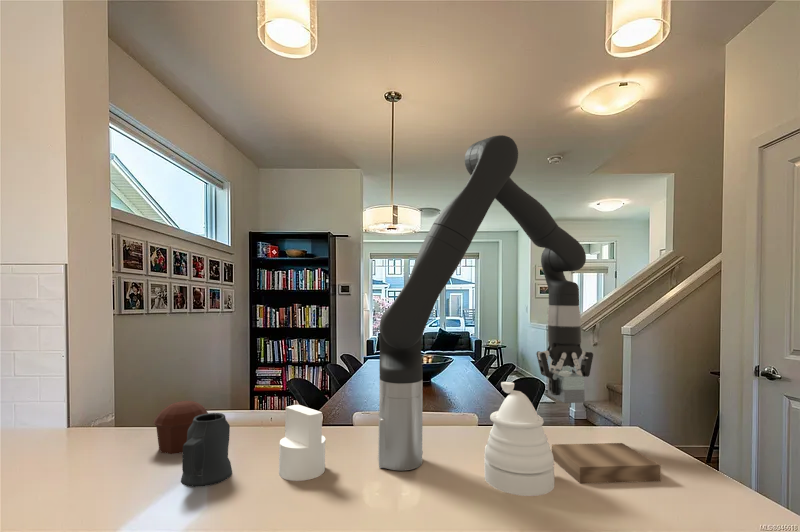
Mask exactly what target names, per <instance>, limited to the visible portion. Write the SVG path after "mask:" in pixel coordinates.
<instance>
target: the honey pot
mask: <svg viewBox="0 0 800 532" xmlns="http://www.w3.org/2000/svg"><path fill="white" fill-rule="evenodd" d="M500 386H501V388H502V391H503V392H504V393H506V394H508V395H507V396H506V397H505V398H504V400H503V401H502V403H501V405H500V407H499V408H498V410H496V411H494V412H492V413H491V414H490V416H489V419H490V421H491V422H493V425H492V428H491V429H490V430H489V436H488V438H487V442H486V445H485V446H484V456H483V457H484V460H483V462H484V463H483V464H484V465H483V466H484V480H485V482H486V484H487V483H488V485H489V486H490V487H492V488H494V489H496V490H497V491H501V492H503V493H505V494H510V495H514V496H520V497H521V496H522V497H524V496H525V497H535V496H536V497H537V496H544V495H546V494H550V492H552V491H553V490H554V488H555V466H554V465H555V464H554V462H555V461H554V458H553V454H552V449H551V446H550V443H549V441H548V435H547V434H546V433H545V430H544V427H543V424H544V418H543V417H541V416H540V415H539V414H538V413H537V411H536V408H535V407H534V404H533V403H532V402H531V400H530V399H529V397H528V396H527V395H526V394H525V393H523V392H522V391H520V390H514V388H515V383H514V382H512V381H501V382H500Z"/></svg>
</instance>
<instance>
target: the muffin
mask: <svg viewBox="0 0 800 532" xmlns="http://www.w3.org/2000/svg"><path fill="white" fill-rule="evenodd" d="M207 413H208V411H207V410H206V408H205V406H204V405H203V404H201V403H199V402H197V401H193V400H182V401H177V402H174V403H171V404H169V405H168V406H166V407H165V408H163V409H162V410H160V412H159V413H158V414H157V415H156V417H155V418H154V419H153V424H154V425H155V427H156V434H157V443H158V449H159V451H160V453H161V454H166V455H167V454H168V455H174V454H175V455H177V454H183V445H184V444H185V443H186V442H187V432H188V429H189V427H190V426H191V424H192V423H193V419H194V418H195V417H196V416H198V415H202V414H207Z"/></svg>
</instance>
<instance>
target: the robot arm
mask: <svg viewBox="0 0 800 532" xmlns="http://www.w3.org/2000/svg"><path fill="white" fill-rule="evenodd" d="M518 160H519V149H518V145H517V144H516V141H515V140H514V139H513V138H511V137H510V136H508V135H500V134H499V135H492V136H489V137H486V138H484V139H481V140H478V141H476V142H475V143H473V144H471V145H470V146H469V147H468V148H467V150H466V152H465V155H464V166H465V168H466V171H467V173H469V175H470V177H469V179H468V181H467V182H466V184H465V186H464V187H463V188H462V190H461V191H459V192H458V194H457V195H456V196H455V197H454V198H453V199H452V200H451V201H450V202H449V203H448V204H447V205H446V206H445V208H443V210H442V211H441V212H440V213H439V214H438V216H436V217H437V218H436V219H435V220H434V222H433V224H432V226H431V227H430V229H429V231H428V233H427V234H426V236H425V238H424V240H423V242H422V244H421V247H420V249H419V251H418V253H417V256H416V259H415V261H414V264H413V267H412V269H411V272H410V274H409V277H408V279H407V281H406V283H405V284H404V286H403V287H402V289H401V290H400V292H399V294H398V295H397V296H396V298H395V300H394V301H393V302H392V304H391V305H390V306H389V307H388V308H387V309H386V310H384V312H383V314H382V315H381V318H380V322H379V369H378V370H379V396H378V397H379V401H378V402H379V403H378V405H379V409H378V411H379V412H378V447H377V448H378V451H377V452H378V453H377V454H378V455H377V456H378V458H377V459H378V468H379V469H386V470H387V469H388V470H391V471H392V470H393V471H409V470H410V471H411V470H414V469H417V468H420V467H421V466H422V464H423V453H424V452H423V388H424V387H423V382H424V381H423V377H424V376H423V361H422V337H423V334H424V332H425V329H426V327H427V324H428V321H429V318H430V316H431V314H432V312H433V309H434V307H435V306H436V305H435V304H436V303H437V300H438V298H439V297H440V294H441V293H442V292H443V290H444V288H445V287H446V286H447V284H448V283H449V281H450V280H451V279H452V276H453V275H454V273H455V271H456V270H457V269H458V267H459V265H460V264H461V262H462V260H463V258H464V257H465V255H466V253H467V251H468V250H469V248H470V246H471V243H472V242H473V239H474V237H475V235H476V233H477V231H478V230H479V228H480V226H481V224H482V222H483V221H484V219H485V217H486V215H487V213H488V211H489V209H490V208H491V206H492V204H493V202H494V201H495V200H496V201H497V202H498V203H500V205H501V206H502V207H503V208H504V209H505V210H506V211H507V212H508V214H510V216H511V217H512V218H513V219H514V220H515V221H516V222H517V224H518V225H519V226H520V227H521V229H522V230H523V232H524V233H525V235H526V236H527V237H528V238H529V239H530V241H531V242H532V243H533V244H534V245H535V246H536V247H538V248H542V249H543V251H542V254H541V255H540V264H541V265H540V266H541V268H542V273H543V274H544V279H545V282H546V285H547V288H548V312H547V336H548V337H547V338H548V339H547V341H548V348H547V350H544V351H537V352H536V353H535V355H536V358H537V361H538V367H539V371H540V375H541V376H544V377H546V378H547V379H548V378H549V391H550V392H551V394H553V395H558V380H556V379H557V378H558V374H559V372H560V371H562V369H563V367H568V368H569V370H570V372H572V373H575V374H578V375H581V376H584V378H585V377H590V374H591V369H592V364H593V358H594V353H593V352H591V351H586V350H583V349H582V346H581V343H582V318H581V311H580V290H579V289H580V288H579V285H578V283H576V282H575V281H571V280H567V278H566V276H565V273H564V272H576V271H579V270H581V269H582V268H583V267H584V265H585V264H586V261H587V254H586V251H585V249H584V247H583V246H582V244H581V243H580V242H579V241H578V240H577V239H576V238H575V237H573V236H572V235H571V234H570V233H569V232H568V231H566V230H564V229H563V228H561V227H560V226H559V225H558V224H557V223H558V222H556V221H555V220H554V218H553V216H552V215H551V213H550V212H549V211H548V210H547V208H546V207H545V206H544V205H543V204H542V203H540V201H538V200H537V199H536V198H535V197H533V196H532V195H530V193H528V192H526V191H525V190H523V188H521V187H520V186H519V185H518V184H517V183H516V182H514V180H513V179H512V178H511V175H512V174H513V172H514V170H515V169H516V167H517V164H518ZM549 358H550V359H551V361H550V364H549V363H548V362H549V361H548V360H549ZM580 358H581V360H580V361H581V363H580V362H579V359H580Z"/></svg>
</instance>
